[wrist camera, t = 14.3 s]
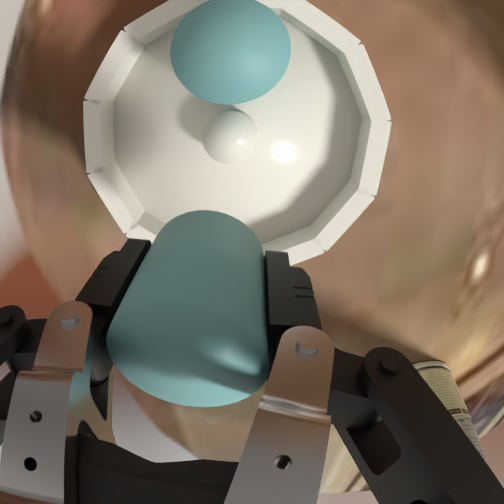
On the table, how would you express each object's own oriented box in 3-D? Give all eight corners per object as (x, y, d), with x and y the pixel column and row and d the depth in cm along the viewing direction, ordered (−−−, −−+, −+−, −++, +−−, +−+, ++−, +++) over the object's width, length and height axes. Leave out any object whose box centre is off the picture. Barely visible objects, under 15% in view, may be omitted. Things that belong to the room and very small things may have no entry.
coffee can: (416, 415, 30) (442, 514, 18) (344, 416, 29) (361, 536, 17) (468, 360, 25) (516, 472, 13) (394, 356, 24) (439, 505, 12)
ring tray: (391, 21, 11) (410, 14, 9) (345, 267, 19) (354, 289, 17) (106, 3, 11) (85, -5, 9) (110, 246, 19) (95, 265, 17)
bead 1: (285, 23, 11) (295, 1, 8) (277, 101, 14) (285, 109, 10) (198, 19, 11) (174, -3, 8) (193, 96, 13) (167, 103, 10)
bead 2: (271, 215, 10) (281, 310, 6) (258, 310, 12) (259, 411, 8) (148, 206, 10) (89, 290, 6) (157, 301, 12) (124, 395, 8)
